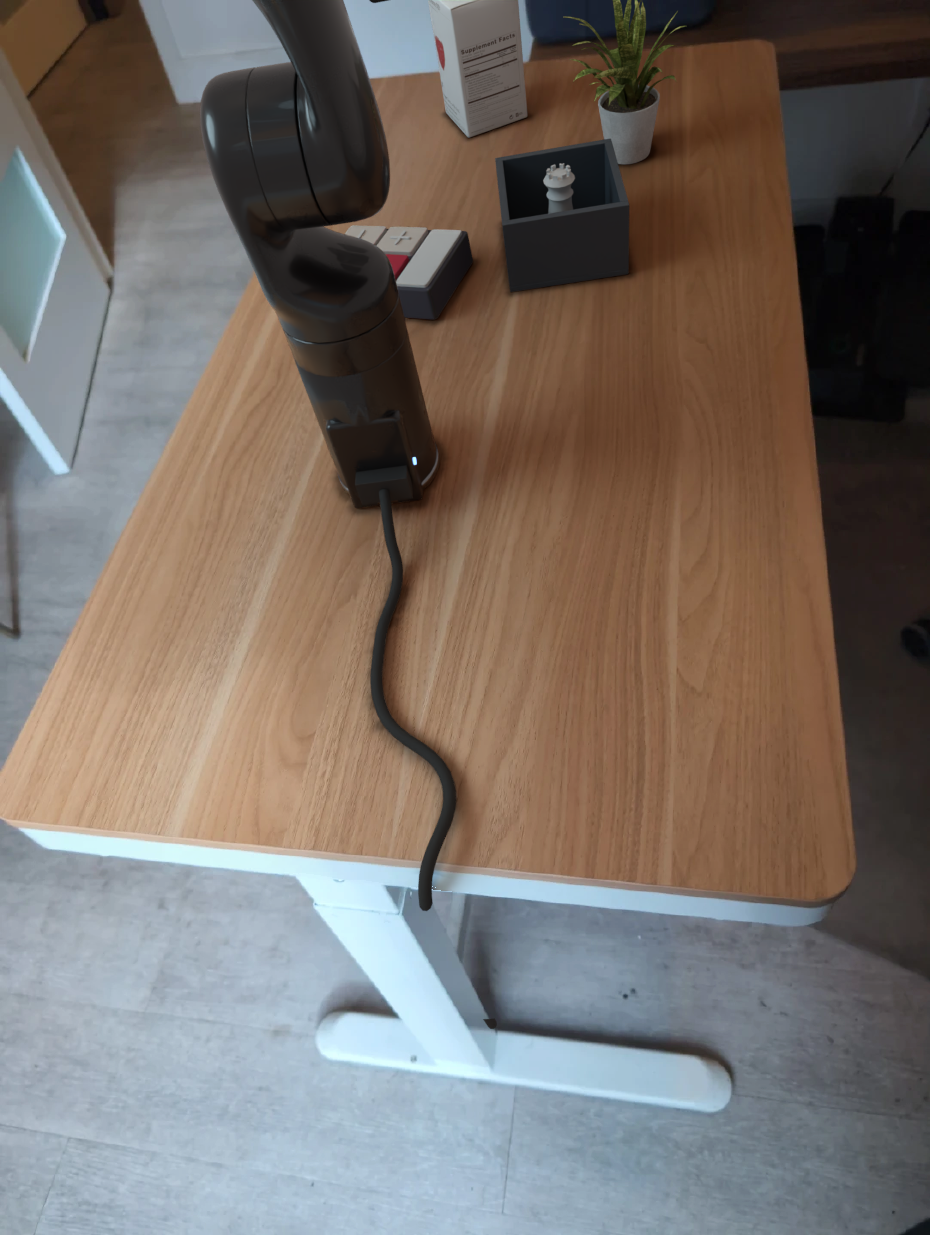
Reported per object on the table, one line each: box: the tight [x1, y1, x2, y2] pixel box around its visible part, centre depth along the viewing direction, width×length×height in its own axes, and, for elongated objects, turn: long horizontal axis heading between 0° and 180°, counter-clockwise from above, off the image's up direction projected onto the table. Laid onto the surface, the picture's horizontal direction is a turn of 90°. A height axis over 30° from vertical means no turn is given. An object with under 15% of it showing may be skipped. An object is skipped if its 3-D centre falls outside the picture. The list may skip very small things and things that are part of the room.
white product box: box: [427, 0, 528, 138], centre depth 107 cm, size 9×9×15 cm
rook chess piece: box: [543, 164, 575, 214], centre depth 89 cm, size 4×4×8 cm
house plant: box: [564, 0, 686, 165], centre depth 96 cm, size 14×14×16 cm
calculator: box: [344, 224, 474, 321], centre depth 92 cm, size 11×4×15 cm
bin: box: [494, 138, 630, 293], centre depth 89 cm, size 14×13×8 cm
